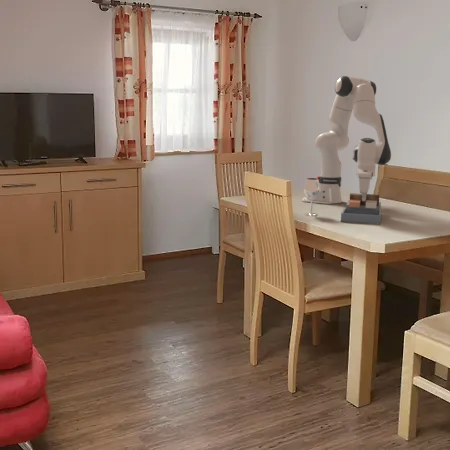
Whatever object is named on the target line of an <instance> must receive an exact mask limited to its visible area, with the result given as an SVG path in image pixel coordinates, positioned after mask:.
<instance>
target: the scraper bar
mask: <svg viewBox="0 0 450 450" xmlns="http://www.w3.org/2000/svg"><path fill="white" fill-rule="evenodd" d="M350 199H354V200H361V204H360V205H366V201H362V193H356V192H355V193H352V192H351V193H350V194H349V200H350ZM366 200H372V201H377V206H379V202H380V194H373V193H372V194H370V193H367V194H366Z"/></svg>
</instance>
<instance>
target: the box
mask: <svg viewBox="0 0 450 450" xmlns="http://www.w3.org/2000/svg"><path fill="white" fill-rule="evenodd" d="M382 213H383V212H382V210H380V211H373V210H357V209H346V208H343V210H342V212H341V213H340V223H341V222H342V223H354V224H355V223H357V224H358V223H359V224H373V225H380V224H381V221H382Z"/></svg>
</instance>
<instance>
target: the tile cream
mask: <svg viewBox="0 0 450 450" xmlns="http://www.w3.org/2000/svg"><path fill="white" fill-rule="evenodd" d="M376 207H377V201H372V200H366V208H376Z"/></svg>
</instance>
